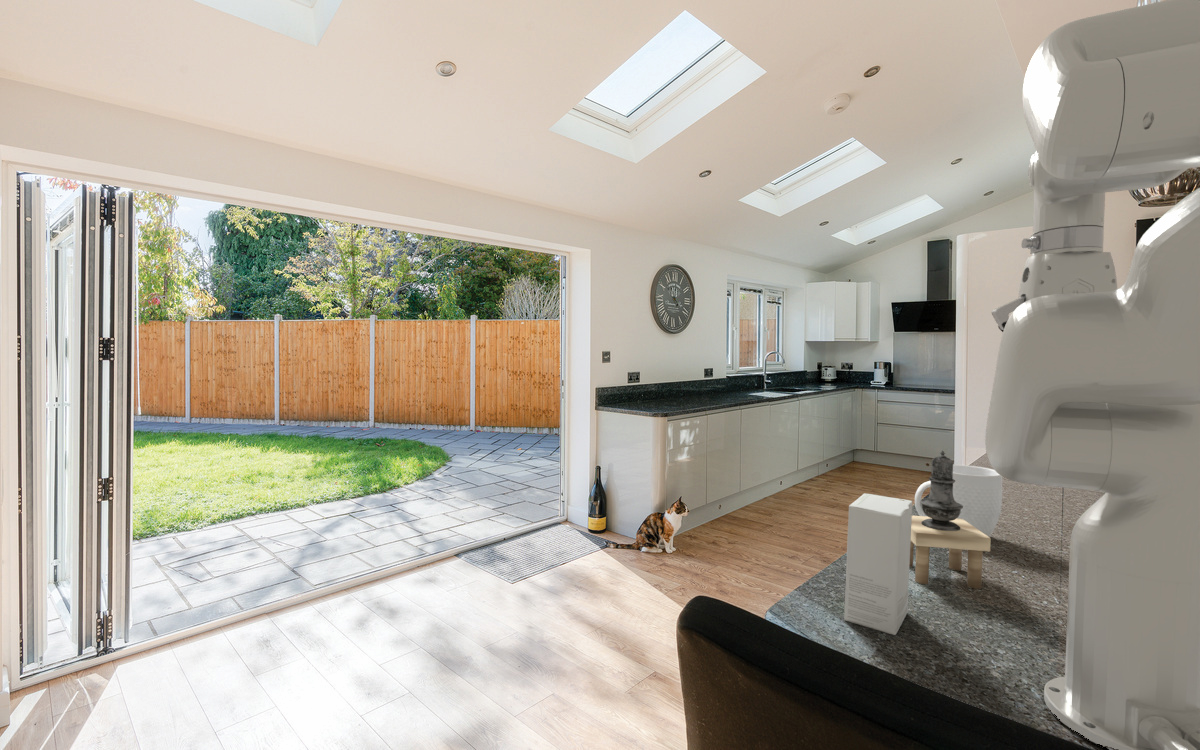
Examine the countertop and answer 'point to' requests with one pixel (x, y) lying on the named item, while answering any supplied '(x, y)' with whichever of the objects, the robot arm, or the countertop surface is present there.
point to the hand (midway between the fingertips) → (1061, 369)
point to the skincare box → (878, 562)
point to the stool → (955, 542)
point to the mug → (973, 496)
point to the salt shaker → (941, 497)
